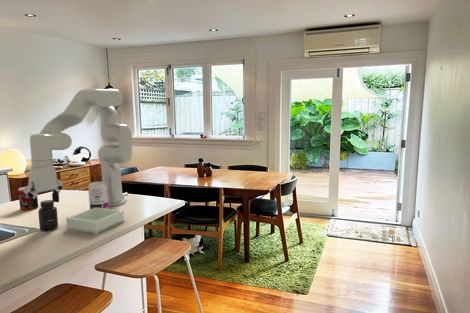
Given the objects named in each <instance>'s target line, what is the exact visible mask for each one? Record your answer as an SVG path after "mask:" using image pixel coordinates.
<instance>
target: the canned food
mask: <svg viewBox="0 0 470 313" xmlns="http://www.w3.org/2000/svg"><path fill="white" fill-rule="evenodd" d="M25 187H26V186H23V187H19V188H18V190H17V192H18V193H17V194H18V202H19V210H20V211H24V212H26V211H27V212H28V211H33V210H36V209H37V208H32V207H31V203H30V198H29V197H28V196H26V195H25V193H24V191H23V189H24V188H25ZM29 192H30V191H29ZM30 193H31V192H30ZM36 198H37V199H38V195H37V196H36Z"/></svg>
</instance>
